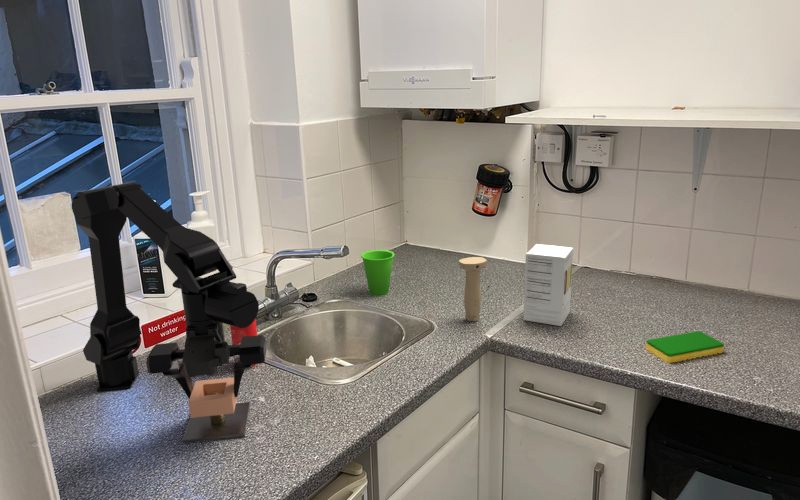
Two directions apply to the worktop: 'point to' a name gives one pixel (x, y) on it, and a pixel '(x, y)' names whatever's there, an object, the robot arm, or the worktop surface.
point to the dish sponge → (684, 346)
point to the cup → (378, 270)
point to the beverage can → (243, 334)
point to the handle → (472, 286)
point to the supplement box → (548, 284)
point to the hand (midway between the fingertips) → (214, 398)
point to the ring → (212, 398)
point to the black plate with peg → (218, 425)
